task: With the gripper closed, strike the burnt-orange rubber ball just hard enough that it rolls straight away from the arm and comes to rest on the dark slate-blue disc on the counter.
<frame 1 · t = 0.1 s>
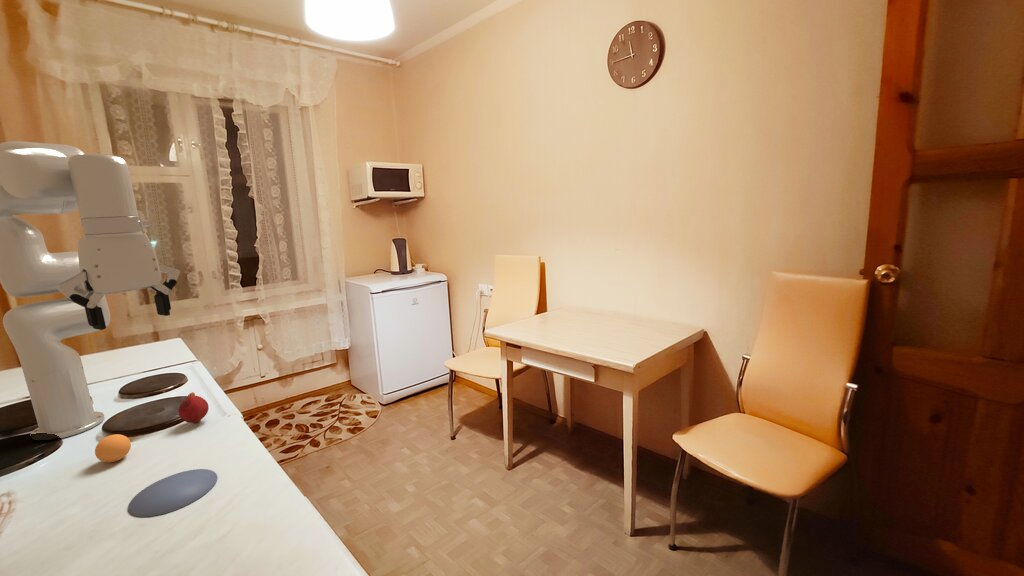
hand: (133, 321, 78), 31 cm above the counter, tool pointing down, fingers open, 9 cm apart
onion: (196, 424, 104), on the counter
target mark: (175, 491, 79), on the counter
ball: (113, 448, 89), on the counter
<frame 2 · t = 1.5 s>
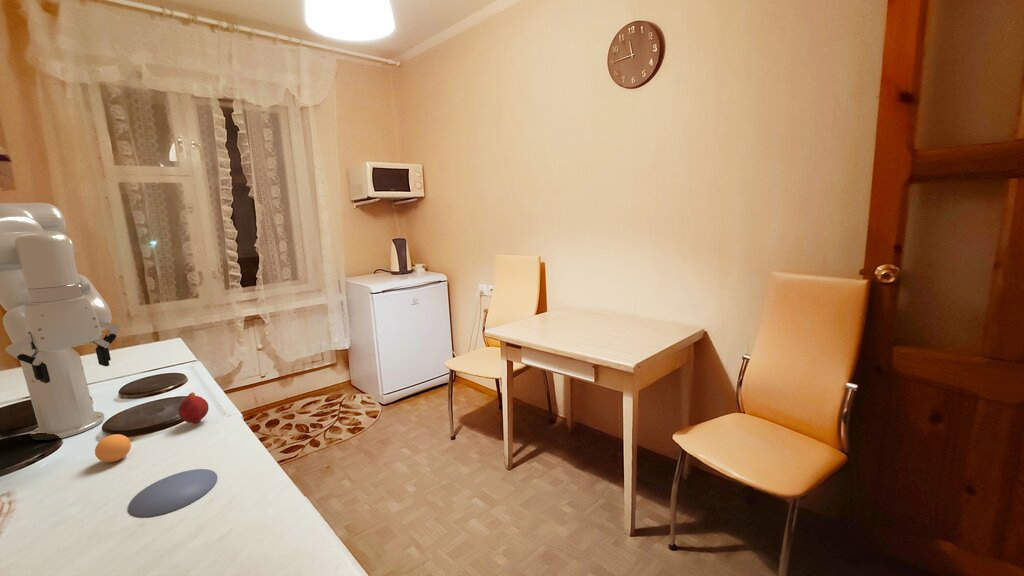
hand: (76, 373, 91), 18 cm above the counter, tool pointing down, fingers open, 9 cm apart
nothing on the counter moved.
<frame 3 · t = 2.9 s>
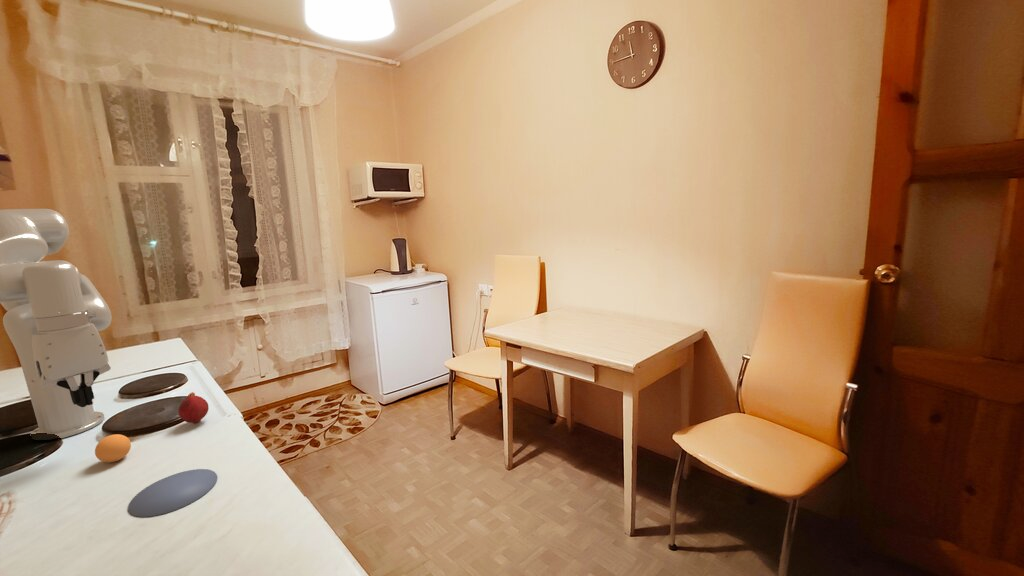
hand: (84, 404, 92), 11 cm above the counter, tool pointing down, fingers closed
nothing on the counter moved.
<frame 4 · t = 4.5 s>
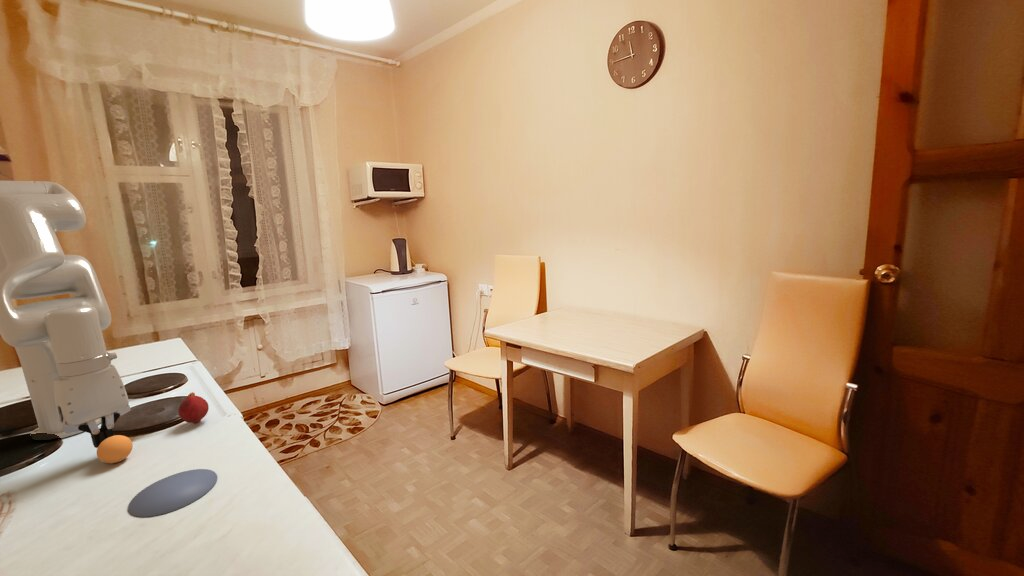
hand: (105, 447, 91), 2 cm above the counter, tool pointing down, fingers closed
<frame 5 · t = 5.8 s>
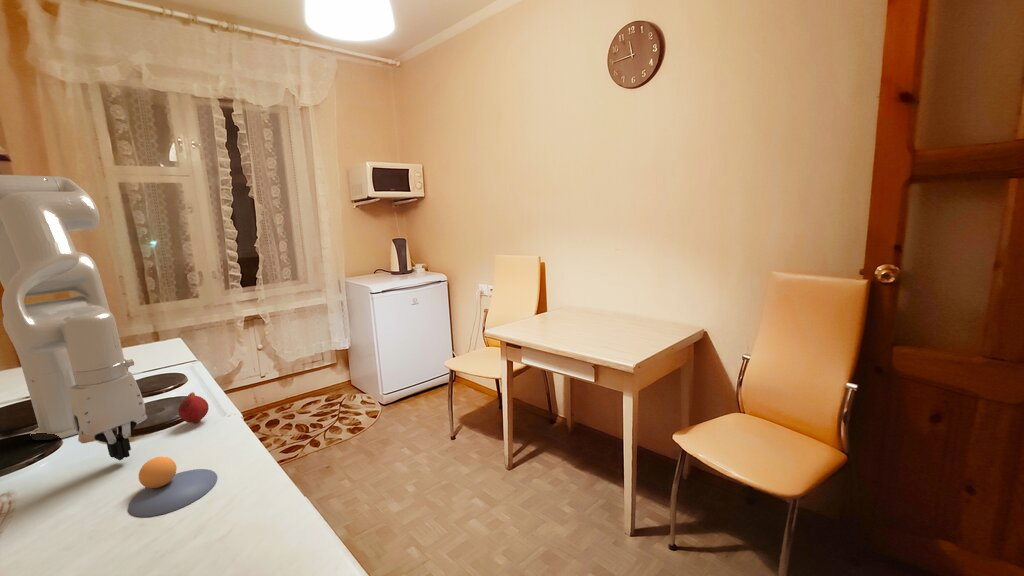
hand: (121, 456, 88), 2 cm above the counter, tool pointing down, fingers closed
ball: (157, 472, 80), on the counter
everything else where it was.
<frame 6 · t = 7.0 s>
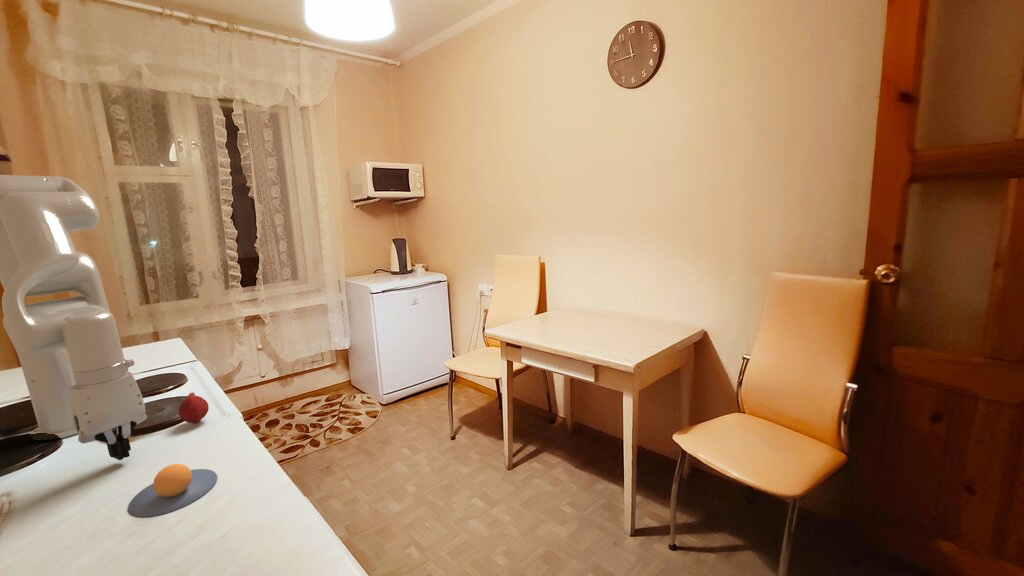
hand: (121, 456, 88), 2 cm above the counter, tool pointing down, fingers closed
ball: (173, 480, 78), on the counter
everything else where it was.
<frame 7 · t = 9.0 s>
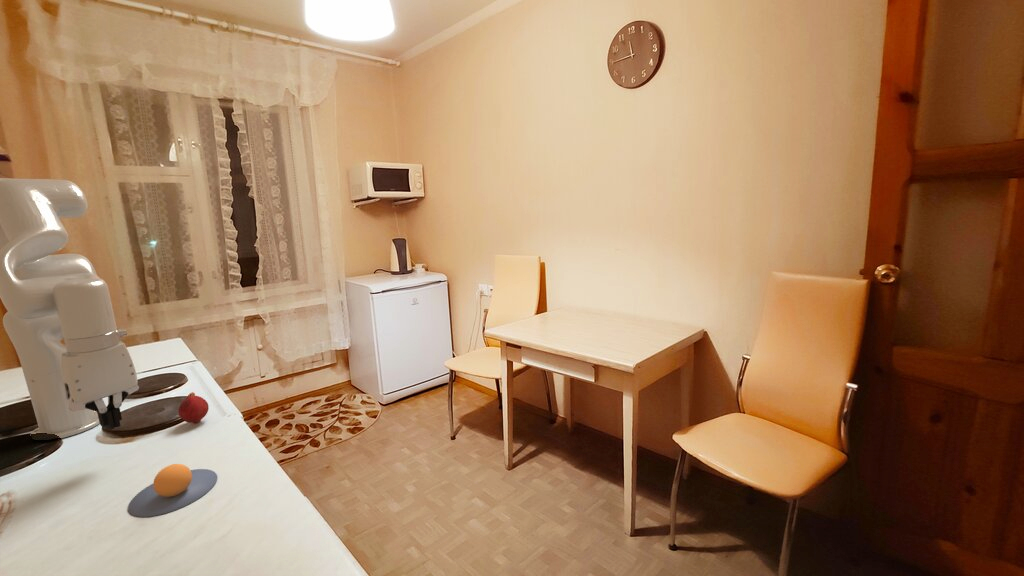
hand: (112, 426, 88), 8 cm above the counter, tool pointing down, fingers closed
nothing on the counter moved.
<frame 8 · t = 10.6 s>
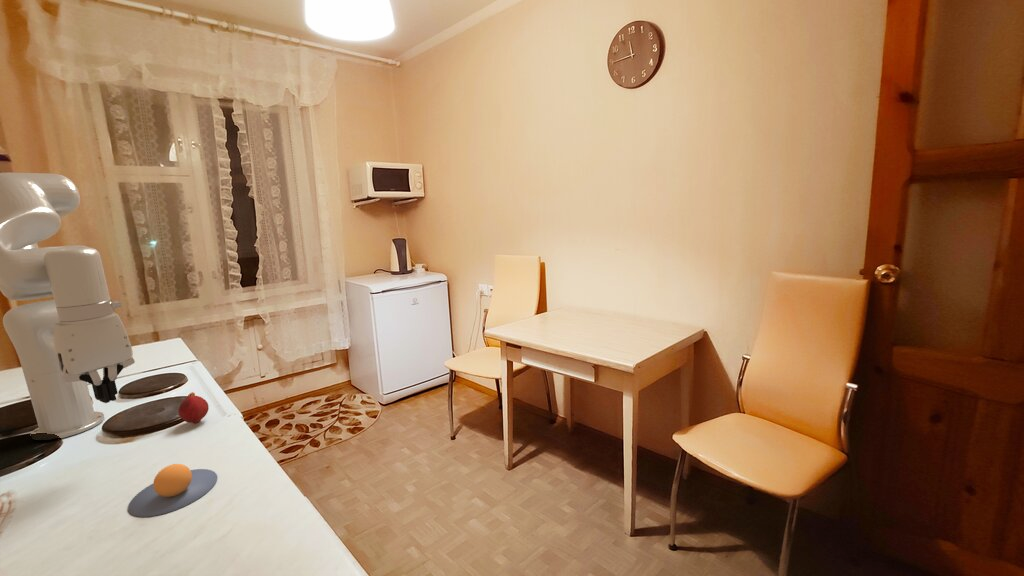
hand: (107, 400, 86), 14 cm above the counter, tool pointing down, fingers closed
nothing on the counter moved.
at the end: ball 0.9 cm from the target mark (horizontally); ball at rest at the end (0.0 cm/s); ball moved 24.8 cm from its start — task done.
